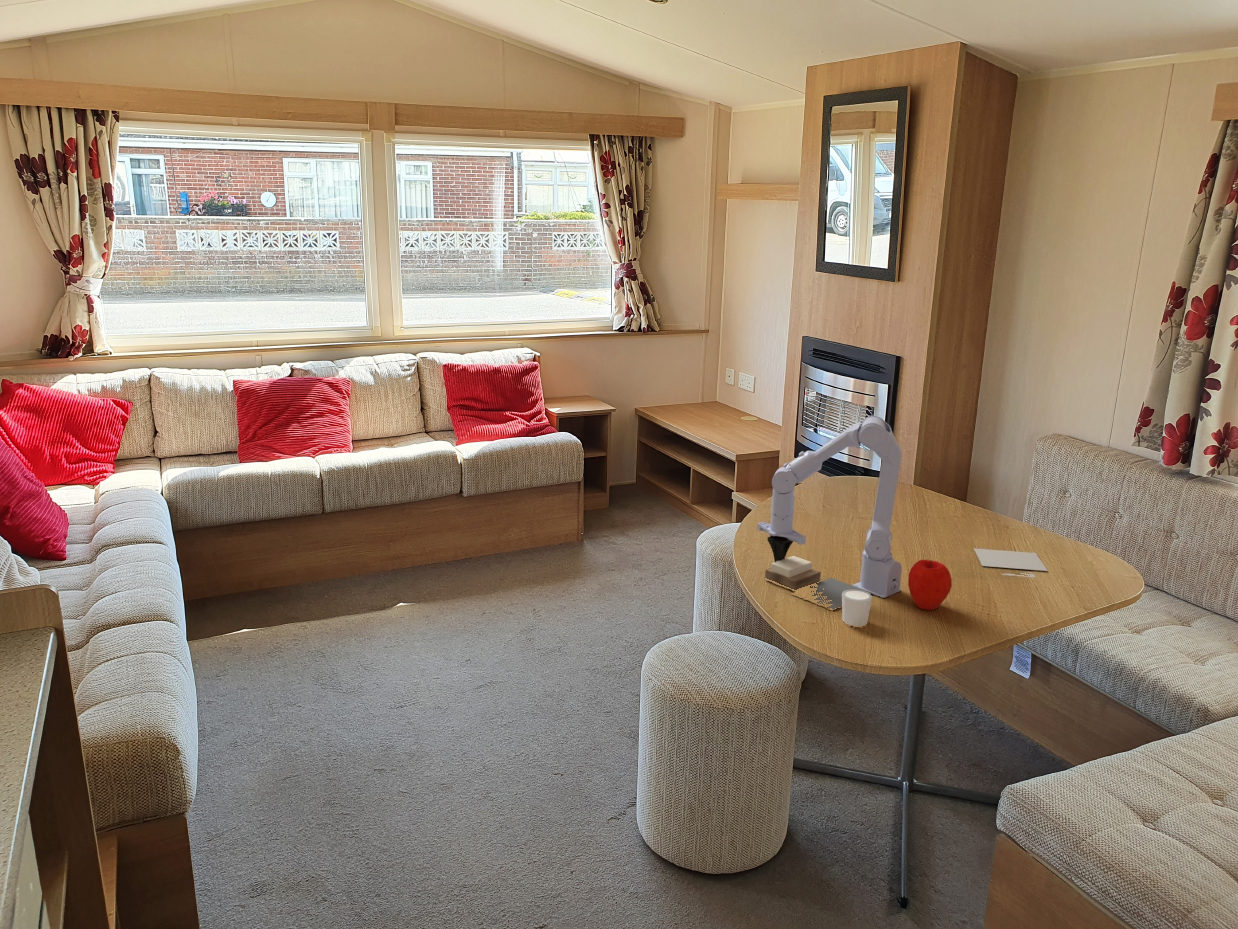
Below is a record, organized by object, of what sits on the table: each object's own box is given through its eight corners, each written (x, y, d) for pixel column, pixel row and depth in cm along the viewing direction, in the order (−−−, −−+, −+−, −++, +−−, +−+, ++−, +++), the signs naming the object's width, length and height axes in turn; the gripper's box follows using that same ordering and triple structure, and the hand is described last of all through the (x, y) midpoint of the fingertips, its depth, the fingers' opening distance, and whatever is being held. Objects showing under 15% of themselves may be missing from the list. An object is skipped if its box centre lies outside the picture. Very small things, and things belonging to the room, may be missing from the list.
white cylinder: (864, 616, 215) (867, 588, 213) (873, 628, 209) (876, 600, 207) (836, 616, 215) (838, 588, 213) (844, 629, 208) (846, 600, 207)
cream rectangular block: (811, 569, 235) (811, 562, 235) (788, 577, 230) (789, 570, 229) (793, 562, 240) (793, 555, 239) (770, 570, 234) (771, 563, 234)
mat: (871, 594, 228) (871, 592, 227) (832, 611, 218) (832, 609, 217) (830, 579, 237) (830, 577, 237) (791, 594, 227) (791, 593, 227)
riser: (819, 582, 235) (820, 572, 234) (795, 592, 228) (795, 581, 228) (789, 571, 242) (790, 560, 241) (764, 580, 236) (765, 569, 235)
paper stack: (1056, 586, 235) (1057, 584, 234) (955, 578, 239) (955, 576, 239) (1035, 555, 257) (1035, 552, 257) (943, 548, 261) (943, 546, 261)
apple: (952, 604, 222) (957, 558, 219) (943, 619, 214) (949, 571, 211) (910, 595, 227) (915, 550, 224) (901, 609, 219) (905, 562, 216)
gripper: (750, 509, 237) (748, 558, 240) (794, 523, 226) (791, 574, 230) (768, 504, 241) (765, 552, 245) (812, 518, 231) (808, 568, 234)
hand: (779, 562), depth 238 cm, fingers closed
